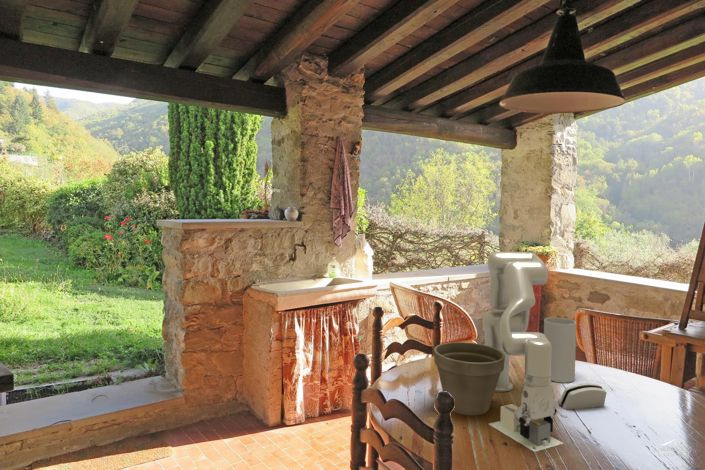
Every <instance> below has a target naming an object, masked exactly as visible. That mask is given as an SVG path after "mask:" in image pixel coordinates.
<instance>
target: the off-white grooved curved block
mask: <svg viewBox="0 0 705 470" xmlns="http://www.w3.org/2000/svg"><path fill="white" fill-rule="evenodd" d="M606 397H607V392H606V389H604V388H603V386H602V385H599V384H596V383H593V382H592V383H589V382H585V383H584V382H583V383H577V384H572V385H571V386H567V387H565V388H564V390H563V393H562V395H561V397H560V398H559V399H557V401H556V402H558V403H559V405H560V406H562V409H563V410H574V409H584V408H594V407H595V408H596V407H604V406H605V402H606V399H607V398H606Z"/></svg>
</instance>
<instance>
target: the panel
mask: <svg viewBox="0 0 705 470" xmlns="http://www.w3.org/2000/svg"><path fill="white" fill-rule="evenodd" d="M488 425H489V426H490V427H492V428H494V429H495V430H497V431H499V432H500V433H502V434H504V435H505V436H507V437H509V438H511V439H512V440H514V441H515V442H517V443H519V444H520V445H522V446H524V447H526V448H527V449H529V450H531V451H532V452H534V453H537V452H539V451H542V450H546V449H550V448H553V447H556V446H559V445H563V444H564V442H562V441H561V440H559V439H556V438H555V437H554V436H551V435H550V443H548V441H546V440H544V439H541V445H540V446H537V445H535V444H533V443H532V442H530V441H528V440H527V439H525V438H523V436H522V435H520V426H519V425H518V426H517V430H516V432H513V431H511V430H509V429H508V428H506V427H504V426H503V425H501V424H500V420H499V421H494V422H489V423H488Z"/></svg>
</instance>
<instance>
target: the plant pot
mask: <svg viewBox="0 0 705 470" xmlns="http://www.w3.org/2000/svg"><path fill="white" fill-rule="evenodd" d="M433 360H434V361H433V362H434V364H435V366H436V367H437V371H438V377H439V380H440V384H441V385H440V386H441V388H442V392H443V391H447V392H449V393H450V394H451V395H452V396H453V397H454V399H455V408H454V410H453V411H452V412H454V413H456V414H460V415H463V416H481V415H484V414H486V413H487V412H488V411H489V410H490V408H491V404H492V402H493V401H492V400H493V398H494V395H495V392H496V391H495V389H496V386H497V383H498V379H499V376H500V373H501V372H502V371H503V369H504V362H505V354H504V353H503V352H502V351H500V350H498V349H496V348H494V347H491V346H487V345H485V344H482V343H476V342H467V341H466V342H465V341H453V342H449V341H448V342H444V343H440V344H438V345H436V346H435V347H434V348H433Z"/></svg>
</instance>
